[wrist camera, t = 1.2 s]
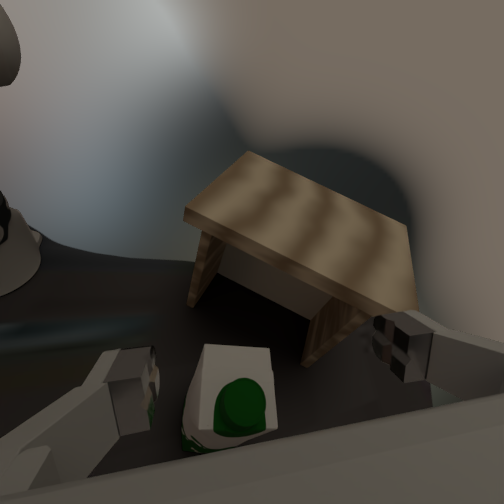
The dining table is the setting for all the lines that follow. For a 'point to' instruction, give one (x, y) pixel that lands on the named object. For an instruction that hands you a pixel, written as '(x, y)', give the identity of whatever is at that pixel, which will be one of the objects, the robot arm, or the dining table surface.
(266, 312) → the dining table surface
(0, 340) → the dining table surface
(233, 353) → the milk carton
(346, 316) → the wooden shelf
